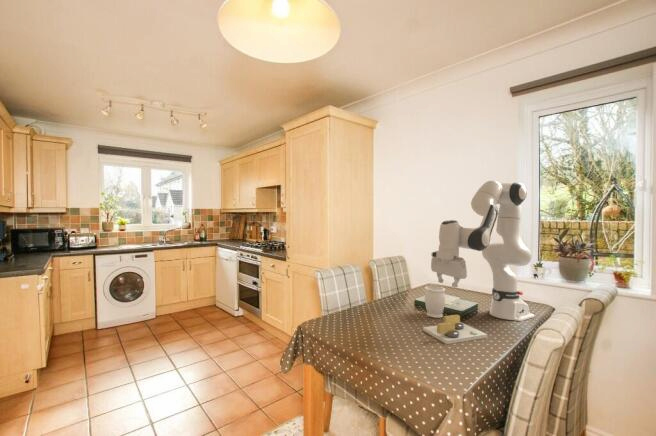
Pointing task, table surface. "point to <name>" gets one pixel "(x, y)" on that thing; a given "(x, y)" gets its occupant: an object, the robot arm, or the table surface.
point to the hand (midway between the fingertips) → (447, 284)
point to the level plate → (464, 334)
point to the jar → (434, 301)
